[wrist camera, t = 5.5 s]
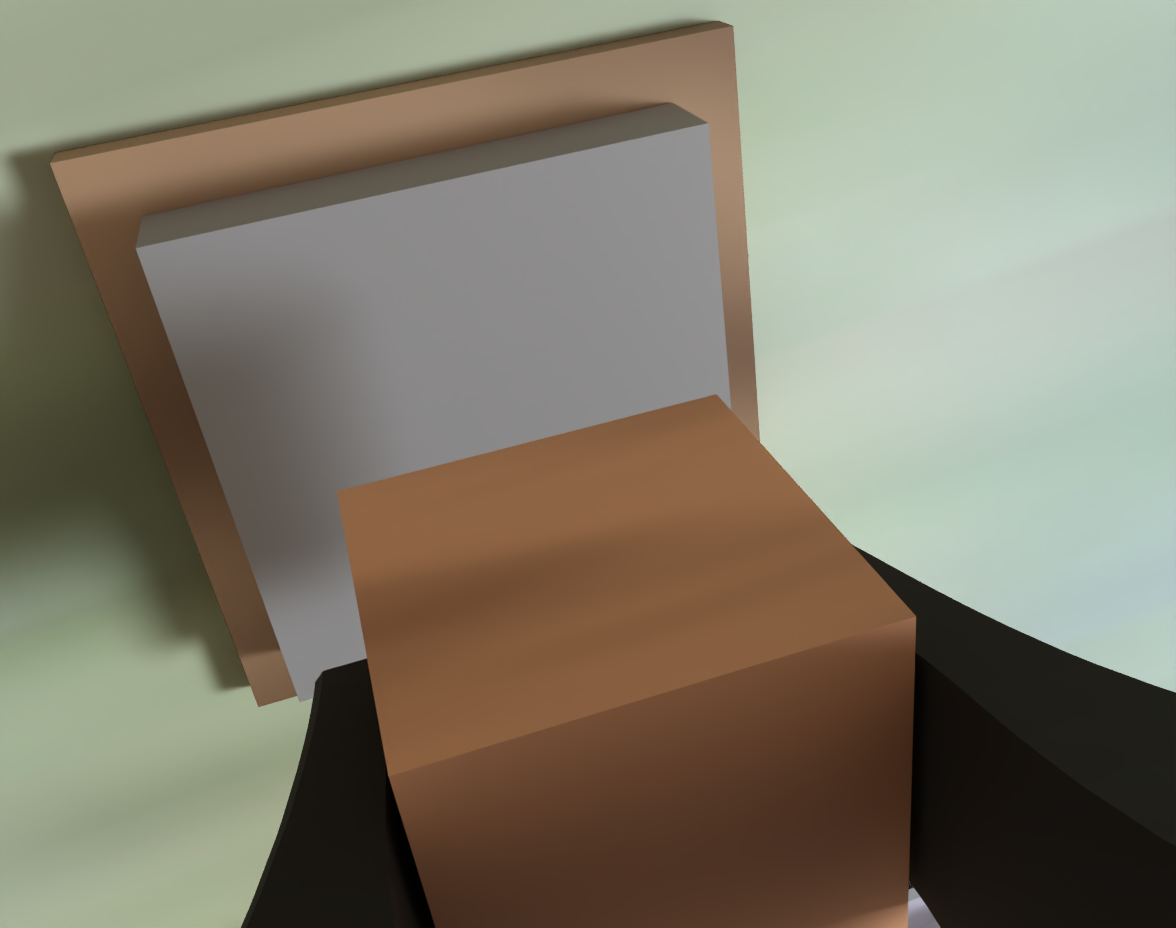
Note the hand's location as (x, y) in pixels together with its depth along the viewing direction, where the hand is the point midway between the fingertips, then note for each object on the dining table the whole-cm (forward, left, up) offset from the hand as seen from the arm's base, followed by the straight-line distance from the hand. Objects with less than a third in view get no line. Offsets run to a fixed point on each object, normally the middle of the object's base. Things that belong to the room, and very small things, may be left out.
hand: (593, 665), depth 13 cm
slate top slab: (0, 0, -7) cm, 7 cm away
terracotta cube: (0, 0, -2) cm, 2 cm away
